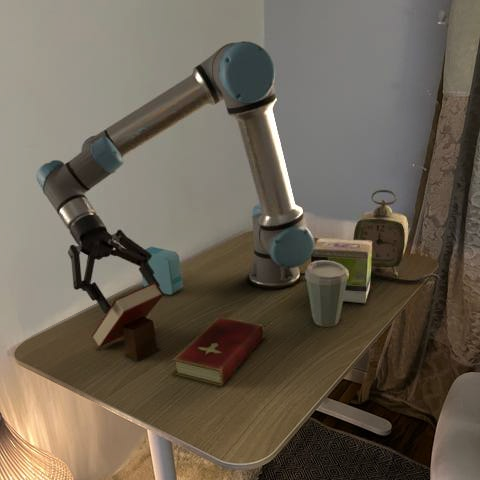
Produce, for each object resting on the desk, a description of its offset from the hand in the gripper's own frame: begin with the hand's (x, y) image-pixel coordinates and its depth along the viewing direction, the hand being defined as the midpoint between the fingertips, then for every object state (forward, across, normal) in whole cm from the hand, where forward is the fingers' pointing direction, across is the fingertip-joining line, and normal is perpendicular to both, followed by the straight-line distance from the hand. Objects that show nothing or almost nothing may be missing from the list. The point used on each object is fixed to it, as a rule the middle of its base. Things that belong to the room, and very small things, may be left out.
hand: (133, 299), depth 116 cm
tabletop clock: (+24, -74, +4) cm, 78 cm away
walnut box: (+10, 0, -10) cm, 14 cm away
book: (+3, 0, -7) cm, 7 cm away
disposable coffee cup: (+28, -39, +8) cm, 49 cm away
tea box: (+24, -54, +4) cm, 60 cm away
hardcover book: (+22, -11, +1) cm, 24 cm away
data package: (-7, -27, -27) cm, 39 cm away
